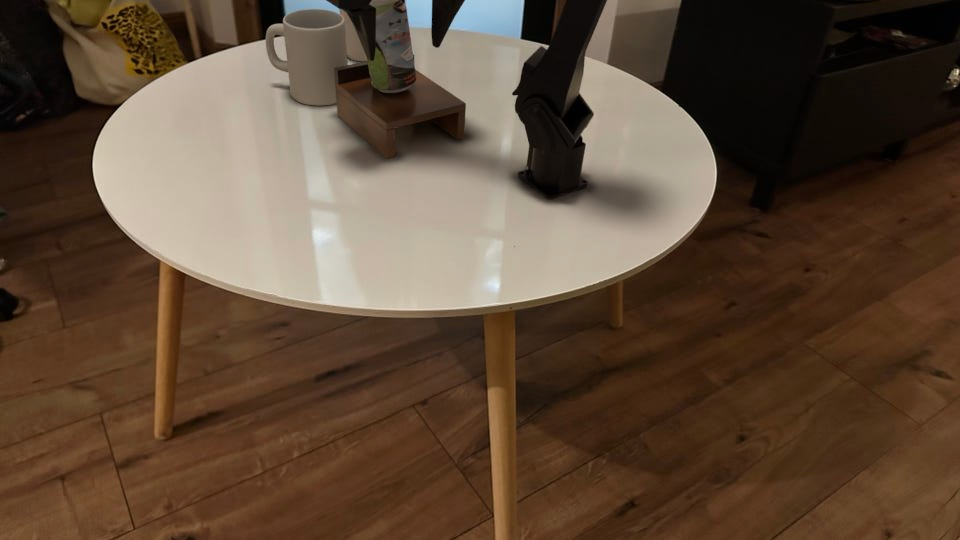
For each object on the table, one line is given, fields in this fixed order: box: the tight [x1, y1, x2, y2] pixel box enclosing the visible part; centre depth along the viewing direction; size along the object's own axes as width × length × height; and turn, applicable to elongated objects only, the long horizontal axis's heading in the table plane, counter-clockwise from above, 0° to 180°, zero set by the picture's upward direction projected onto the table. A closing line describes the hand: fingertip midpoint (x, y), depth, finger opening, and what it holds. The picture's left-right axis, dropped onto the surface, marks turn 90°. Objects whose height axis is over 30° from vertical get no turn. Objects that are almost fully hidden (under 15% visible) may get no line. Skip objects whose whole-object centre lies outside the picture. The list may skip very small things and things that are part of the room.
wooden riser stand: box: [334, 53, 467, 159], centre depth 94 cm, size 14×12×7 cm
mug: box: [265, 8, 349, 106], centre depth 99 cm, size 12×8×11 cm
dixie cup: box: [338, 8, 367, 62], centre depth 112 cm, size 8×8×10 cm
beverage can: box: [367, 0, 416, 93], centre depth 90 cm, size 6×7×12 cm
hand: (403, 53), depth 85 cm, fingers open, 9 cm apart
